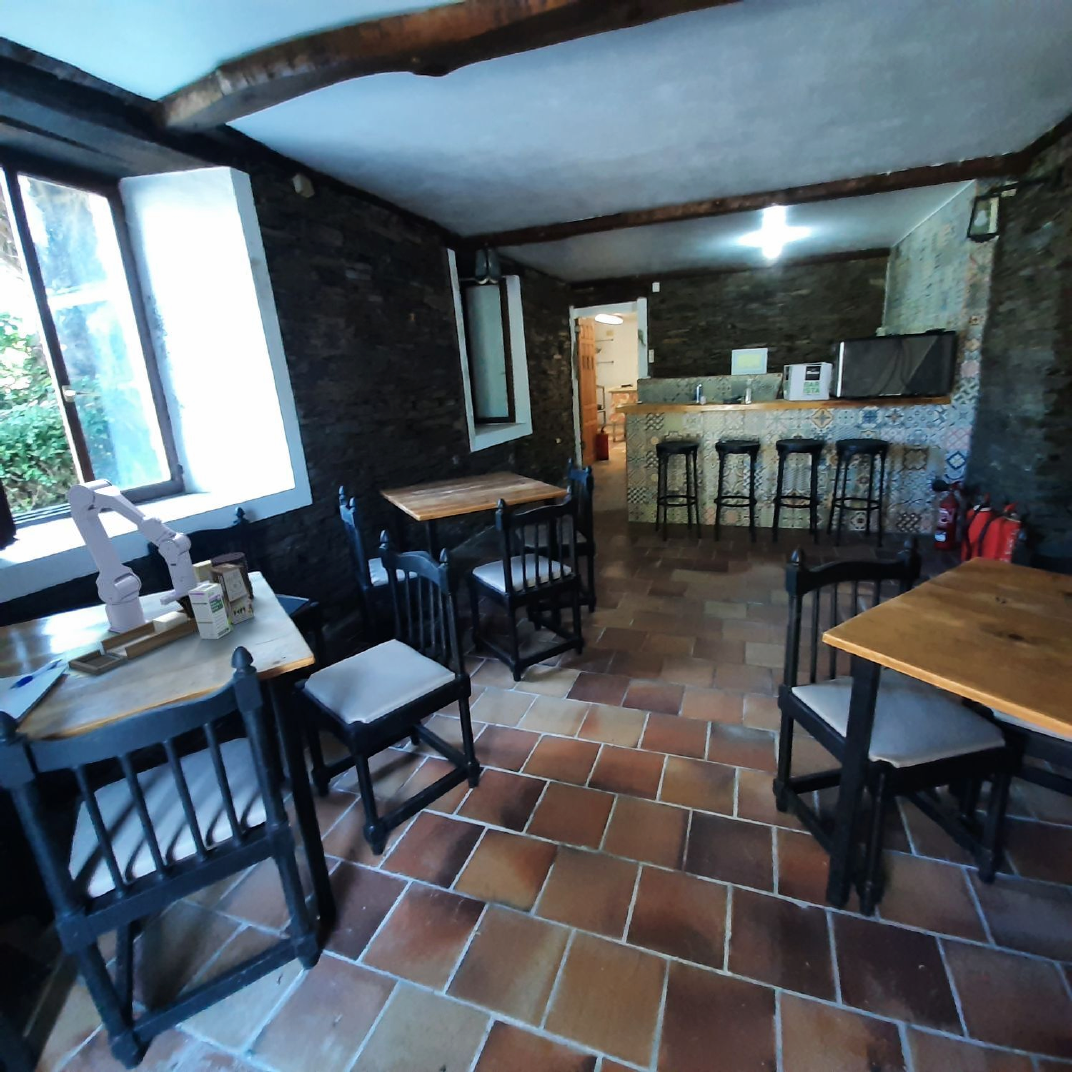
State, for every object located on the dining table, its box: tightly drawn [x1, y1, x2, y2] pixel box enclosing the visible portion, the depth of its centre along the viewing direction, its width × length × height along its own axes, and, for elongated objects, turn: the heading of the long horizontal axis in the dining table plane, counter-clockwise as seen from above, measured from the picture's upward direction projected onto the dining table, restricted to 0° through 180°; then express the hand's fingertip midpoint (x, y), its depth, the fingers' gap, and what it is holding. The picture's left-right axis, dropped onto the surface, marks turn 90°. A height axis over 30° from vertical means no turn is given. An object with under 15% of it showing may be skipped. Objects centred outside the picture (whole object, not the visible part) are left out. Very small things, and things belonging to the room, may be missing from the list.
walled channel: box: [100, 607, 199, 661], centre depth 156 cm, size 12×24×4 cm, turn 154°
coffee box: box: [207, 563, 255, 625], centre depth 163 cm, size 9×6×16 cm
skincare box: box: [192, 559, 212, 584], centre depth 182 cm, size 6×4×12 cm
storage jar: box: [210, 551, 255, 601], centre depth 178 cm, size 10×10×15 cm
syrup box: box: [188, 583, 234, 640], centre depth 153 cm, size 6×6×14 cm
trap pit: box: [67, 648, 128, 676], centre depth 142 cm, size 13×7×2 cm, turn 64°
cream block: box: [152, 610, 188, 633], centre depth 158 cm, size 6×6×4 cm
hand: (194, 618), depth 164 cm, fingers closed
